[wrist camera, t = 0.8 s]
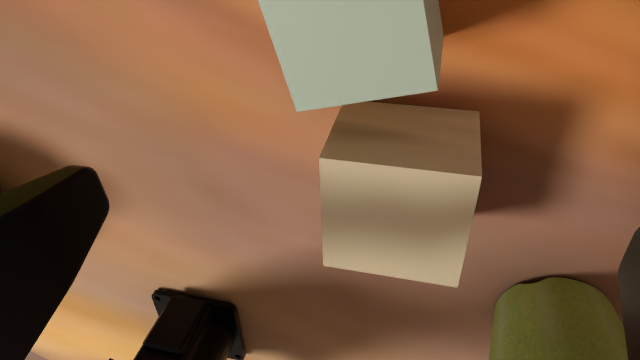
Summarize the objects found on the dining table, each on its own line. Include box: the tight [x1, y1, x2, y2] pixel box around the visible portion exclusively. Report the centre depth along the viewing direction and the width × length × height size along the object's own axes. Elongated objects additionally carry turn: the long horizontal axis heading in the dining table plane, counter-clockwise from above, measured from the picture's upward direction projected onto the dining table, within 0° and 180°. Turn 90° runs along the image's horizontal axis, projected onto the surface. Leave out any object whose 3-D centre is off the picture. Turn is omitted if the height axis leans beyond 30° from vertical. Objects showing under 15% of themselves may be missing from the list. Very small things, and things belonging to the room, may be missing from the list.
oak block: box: [319, 101, 482, 288], centre depth 21 cm, size 6×6×5 cm
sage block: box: [258, 0, 444, 112], centre depth 17 cm, size 5×5×5 cm
